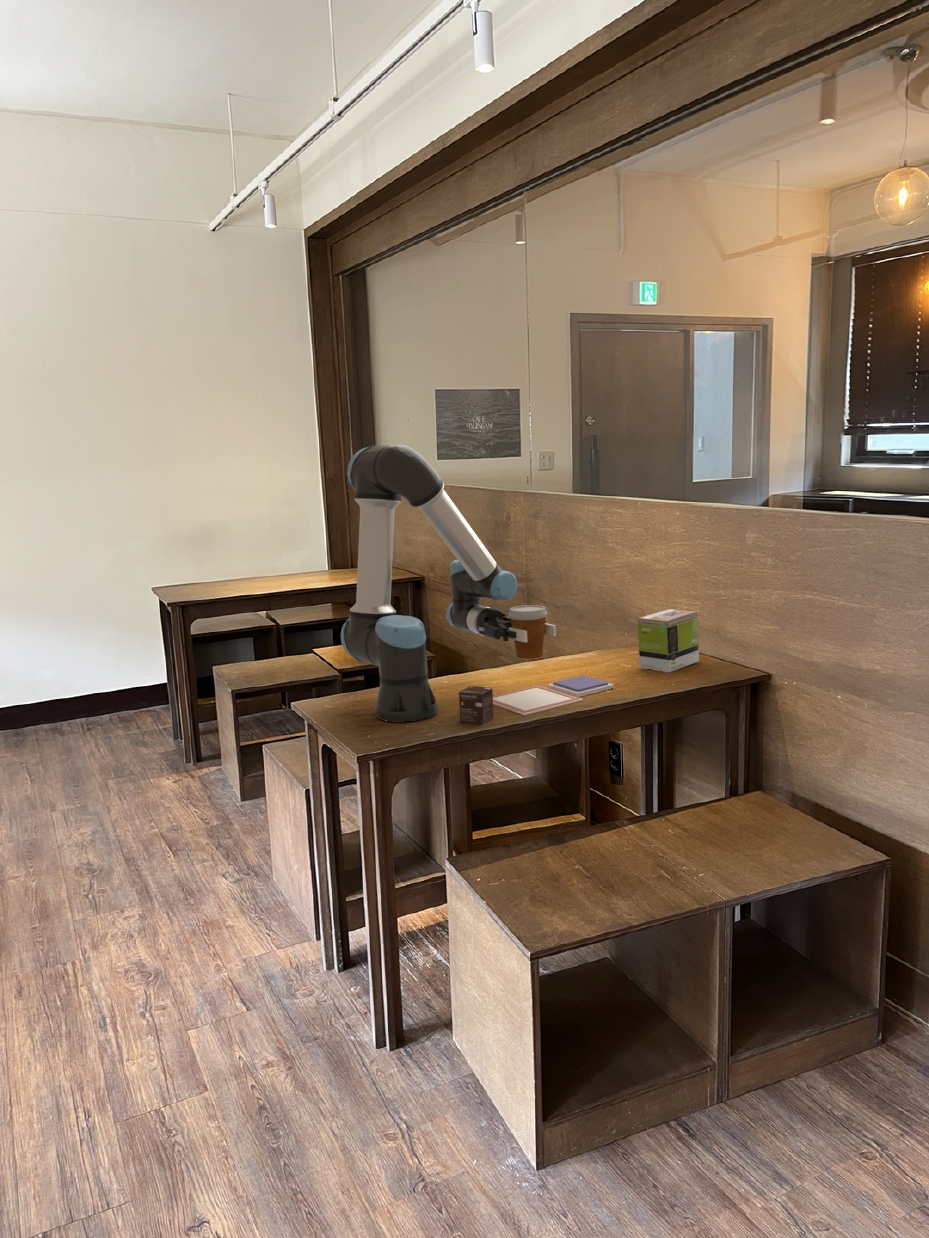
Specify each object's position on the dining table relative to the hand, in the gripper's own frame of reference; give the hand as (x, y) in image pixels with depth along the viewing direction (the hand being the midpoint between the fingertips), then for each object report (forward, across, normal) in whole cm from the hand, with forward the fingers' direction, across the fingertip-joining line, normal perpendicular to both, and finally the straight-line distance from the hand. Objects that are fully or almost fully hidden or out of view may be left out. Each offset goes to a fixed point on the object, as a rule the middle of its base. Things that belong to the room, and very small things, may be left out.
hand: (540, 633), depth 212 cm
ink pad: (-5, -16, -18) cm, 24 cm away
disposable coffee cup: (-5, 0, -6) cm, 8 cm away
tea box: (-6, -49, -18) cm, 52 cm away
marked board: (-5, 0, -18) cm, 18 cm away
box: (-1, +19, -18) cm, 26 cm away
